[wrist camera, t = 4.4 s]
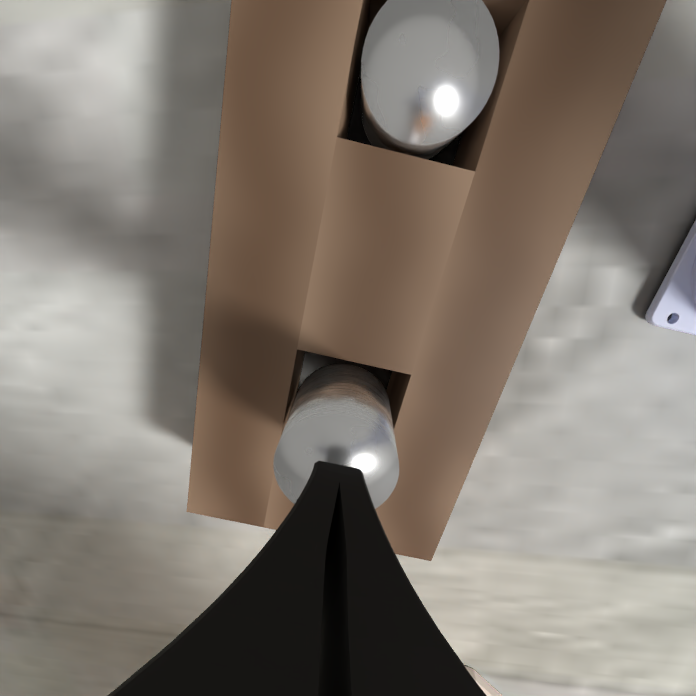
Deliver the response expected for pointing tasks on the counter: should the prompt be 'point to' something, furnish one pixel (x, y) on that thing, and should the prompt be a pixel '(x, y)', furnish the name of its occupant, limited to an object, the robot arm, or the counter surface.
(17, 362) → the counter surface
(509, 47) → the wooden peg board
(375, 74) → the peg
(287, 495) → the peg
